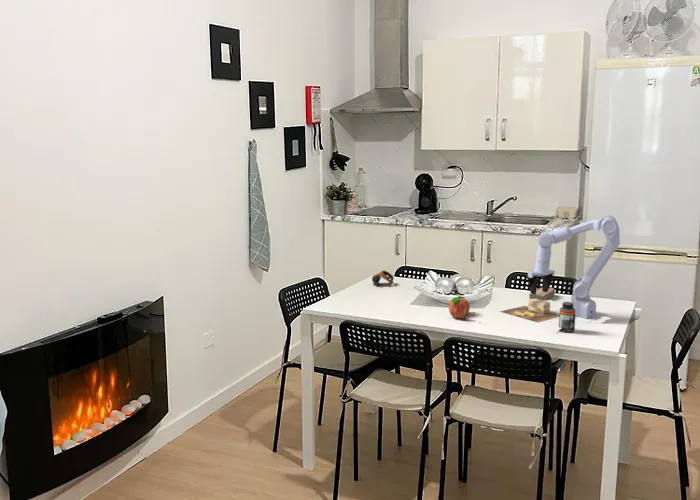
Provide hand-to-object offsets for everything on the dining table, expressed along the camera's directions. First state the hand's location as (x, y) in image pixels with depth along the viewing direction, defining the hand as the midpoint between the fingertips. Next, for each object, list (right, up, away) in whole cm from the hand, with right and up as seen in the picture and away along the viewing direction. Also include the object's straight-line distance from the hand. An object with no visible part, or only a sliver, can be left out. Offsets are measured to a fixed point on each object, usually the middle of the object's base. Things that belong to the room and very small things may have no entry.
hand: (538, 292), depth 293 cm
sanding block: (0, -8, +1) cm, 8 cm away
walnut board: (-4, -10, -2) cm, 11 cm away
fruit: (-34, -11, -2) cm, 36 cm away
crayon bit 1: (-9, -9, -4) cm, 13 cm away
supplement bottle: (+5, -14, -21) cm, 25 cm away
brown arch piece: (-64, 0, +55) cm, 84 cm away
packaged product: (+9, -5, +27) cm, 29 cm away
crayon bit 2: (-5, -9, -4) cm, 11 cm away
